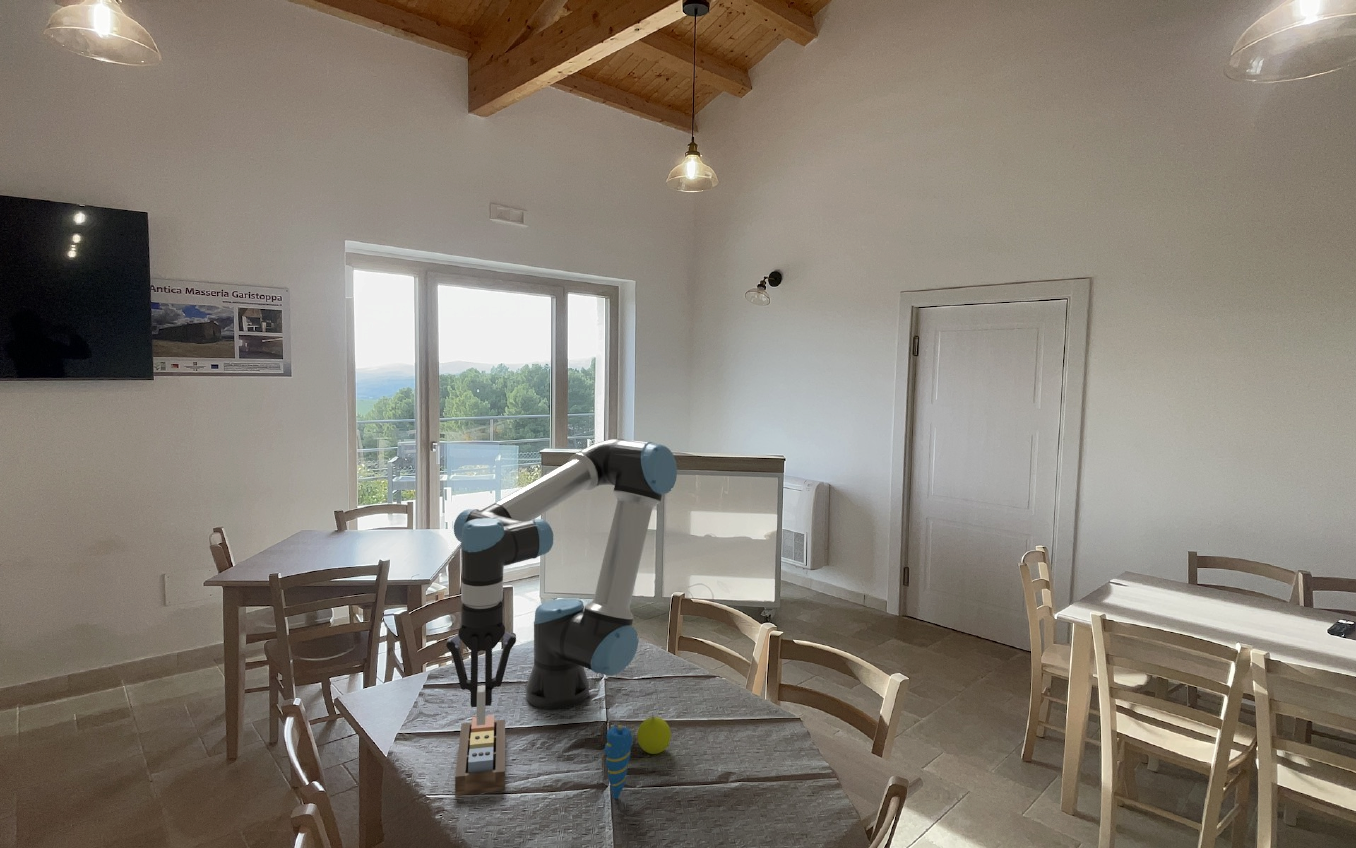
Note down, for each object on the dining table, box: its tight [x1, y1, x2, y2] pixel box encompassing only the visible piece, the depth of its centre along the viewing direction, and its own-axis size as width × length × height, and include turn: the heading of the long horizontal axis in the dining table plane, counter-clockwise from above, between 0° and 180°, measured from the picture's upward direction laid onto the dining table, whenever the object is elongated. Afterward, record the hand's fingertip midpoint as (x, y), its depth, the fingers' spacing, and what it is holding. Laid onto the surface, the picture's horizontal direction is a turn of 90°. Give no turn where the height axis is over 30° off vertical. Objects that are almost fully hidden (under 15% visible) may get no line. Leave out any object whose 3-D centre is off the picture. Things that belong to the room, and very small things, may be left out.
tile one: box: [471, 715, 495, 733], centre depth 144 cm, size 4×4×3 cm
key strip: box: [454, 719, 506, 797], centre depth 138 cm, size 9×19×4 cm, turn 14°
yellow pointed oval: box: [636, 714, 672, 755], centre depth 145 cm, size 7×7×10 cm
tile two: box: [470, 730, 494, 751], centre depth 138 cm, size 4×4×3 cm
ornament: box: [604, 723, 634, 800], centre depth 128 cm, size 5×5×15 cm
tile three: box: [468, 747, 493, 773], centre depth 132 cm, size 4×4×3 cm
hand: (481, 721), depth 131 cm, fingers closed
